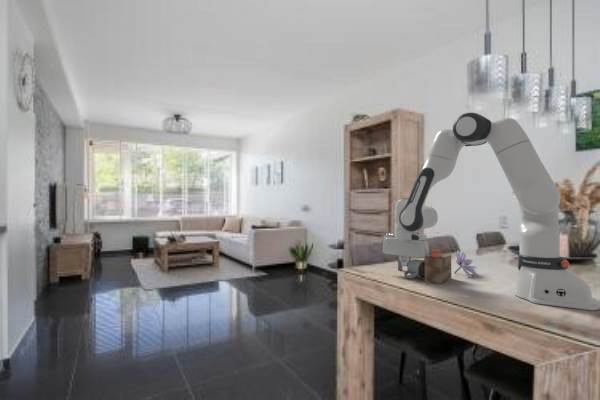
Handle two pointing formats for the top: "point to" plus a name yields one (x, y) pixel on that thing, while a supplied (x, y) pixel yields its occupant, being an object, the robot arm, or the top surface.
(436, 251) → the gauge button
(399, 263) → the handrail
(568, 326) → the top surface
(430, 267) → the brown rectangular block
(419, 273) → the ceramic mug
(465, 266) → the water lily
